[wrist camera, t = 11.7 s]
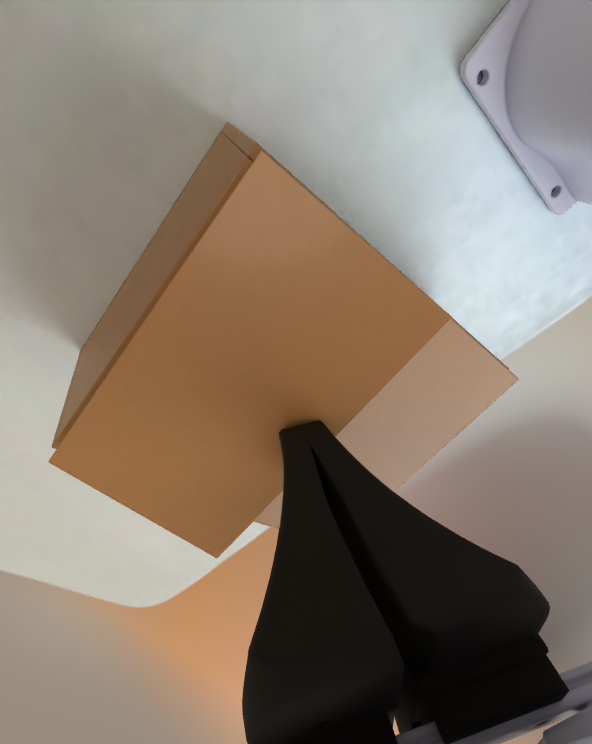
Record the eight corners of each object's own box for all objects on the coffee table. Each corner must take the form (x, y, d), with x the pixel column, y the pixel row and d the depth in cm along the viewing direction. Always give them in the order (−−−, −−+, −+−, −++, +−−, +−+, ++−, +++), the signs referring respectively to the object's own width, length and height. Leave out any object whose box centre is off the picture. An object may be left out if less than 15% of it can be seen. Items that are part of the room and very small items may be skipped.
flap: (52, 457, 14) (47, 462, 14) (262, 150, 10) (261, 148, 10) (218, 552, 16) (217, 559, 15) (449, 315, 12) (453, 318, 12)
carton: (80, 351, 19) (46, 462, 14) (226, 121, 16) (261, 146, 10) (299, 447, 27) (335, 546, 21) (434, 305, 23) (521, 379, 17)
